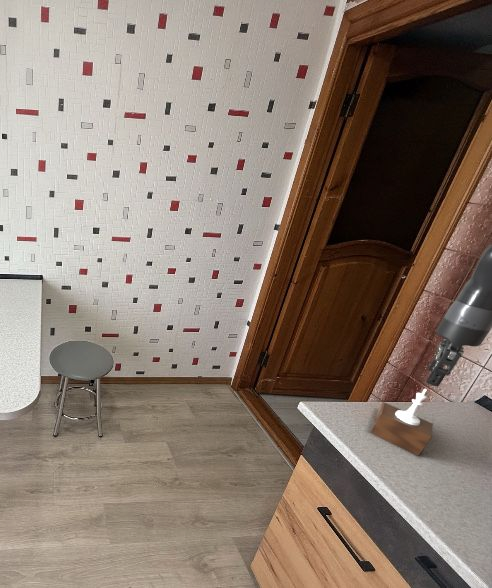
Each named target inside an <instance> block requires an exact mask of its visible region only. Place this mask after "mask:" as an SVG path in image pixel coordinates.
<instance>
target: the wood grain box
mask: <svg viewBox="0 0 492 588" xmlns="http://www.w3.org/2000/svg"><path fill="white" fill-rule="evenodd" d="M398 410H402V409H401V408H399V407H396V406H394V405H392V404H389V403H387V402H384V401H382V402H381V404H380V406H379V408H378V409H377V411H376V414H375V417H374V420H373V423H372V426H371V429H370V431H369V432H370V434H372V435H375V436H376V437H377V438H380V439H382V440H384V441H387V442H389V443H391V444H393V445H395V446H396V447H398V448H400V449H403V450H404V451H407V452H408V453H410V454H412V455H415V456H417V457H419V455H420V454H421V452H422V451H423V450H424V448H425V447H426V445H427V444H428V443H429V442H430V440H431V438H432V437H433V427H434V423H432V422H430V421H428V420H426V419H423V418H421V417H419V416H416V415H415V416H416V417H417V418H418V419H419V420H420V424H419V425H417V426H416V425H411V424H408V423H406V422H404V421H402V420H400V419H399V418H398V417H397V416H396V415H395V413H396V412H397V411H398Z"/></svg>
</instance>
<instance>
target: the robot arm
mask: <svg viewBox="0 0 492 588" xmlns="http://www.w3.org/2000/svg"><path fill="white" fill-rule="evenodd" d="M441 319H442V320H441V321H440V322H439V325H438V326H437V328H436V330H435V333H436V334H437V336H439V337H441V338H443V339H442V340H440V341H439V343H438V345H437V347H436V349H435V351H434V355H433V356H434V358H433V359H432V360H431V363H430V364H429V366H428V368H427V370H428V372H430V373H429V375H428V377H427V378H426V381H425V382H426V384H428V385H431V386H433V387H437V388H438V387H439V386H440V385H441V383H442V382H443V380H444V379H445V377H446V376H447V377H448V376H450V375H451V372H452V371H453V369H454V368H455V367H456V365H457V363H458V362H459V360H460V358H461V357H463V355H464V352H465V350H464V349H465V347H464V346H468V347H480V346H481V345H482V344H483V343H484V341H485V340H486V337H487V336H488V335H489V333H490V331H491V330H492V242H490V243H489V244H488V245H487V246H486V247H485V249H484V250H483V252H482V254H481V256H480V258H479V260H478V261H477V264H476V266H475V267H474V270H473V272H472V274H471V276H470V278H469V279H468V280H467V281H466V282H465V284H464V285H463V287H462V288H461V290H460V292H459V293H458V295H457V296H456V298H455V300H454V301H453V303H452V304H451V305H450V306H449V307H448V309H447V311H446V312H445V314H444V316H443V317H442V318H441ZM445 366H446V368H445Z"/></svg>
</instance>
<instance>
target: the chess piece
mask: <svg viewBox="0 0 492 588" xmlns="http://www.w3.org/2000/svg"><path fill="white" fill-rule="evenodd" d="M427 391H428V389H427V388H424V389H422V392H417V393H415V398H412V399H411V402H412V403H413V404H411V406H409V408H407V410H403V409H401V410H398V411H397V412H396V413H395V415H396V416H397V417H398V418H399V419H400V420H402V421H404V422H406V423H408V424H411V425H416V426H417V425H419V424H420V420H419V419H418V418H417V417H418V416H417V417H416V413H417V410H418V408H419V406H421V407H422V406H423V405H424V403H423V401H424V400H426V399H427V398H428V396H427V395H426V392H427Z"/></svg>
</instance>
